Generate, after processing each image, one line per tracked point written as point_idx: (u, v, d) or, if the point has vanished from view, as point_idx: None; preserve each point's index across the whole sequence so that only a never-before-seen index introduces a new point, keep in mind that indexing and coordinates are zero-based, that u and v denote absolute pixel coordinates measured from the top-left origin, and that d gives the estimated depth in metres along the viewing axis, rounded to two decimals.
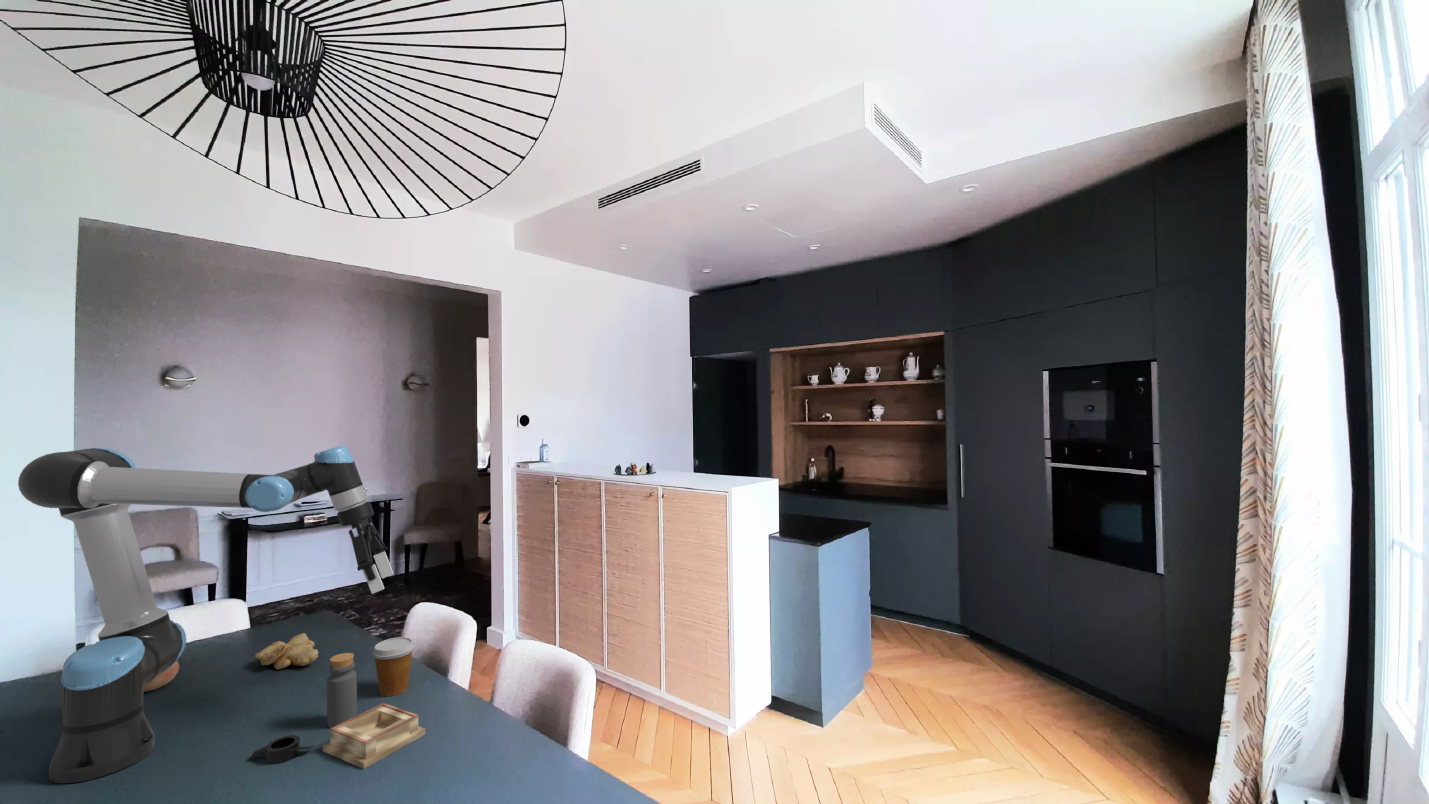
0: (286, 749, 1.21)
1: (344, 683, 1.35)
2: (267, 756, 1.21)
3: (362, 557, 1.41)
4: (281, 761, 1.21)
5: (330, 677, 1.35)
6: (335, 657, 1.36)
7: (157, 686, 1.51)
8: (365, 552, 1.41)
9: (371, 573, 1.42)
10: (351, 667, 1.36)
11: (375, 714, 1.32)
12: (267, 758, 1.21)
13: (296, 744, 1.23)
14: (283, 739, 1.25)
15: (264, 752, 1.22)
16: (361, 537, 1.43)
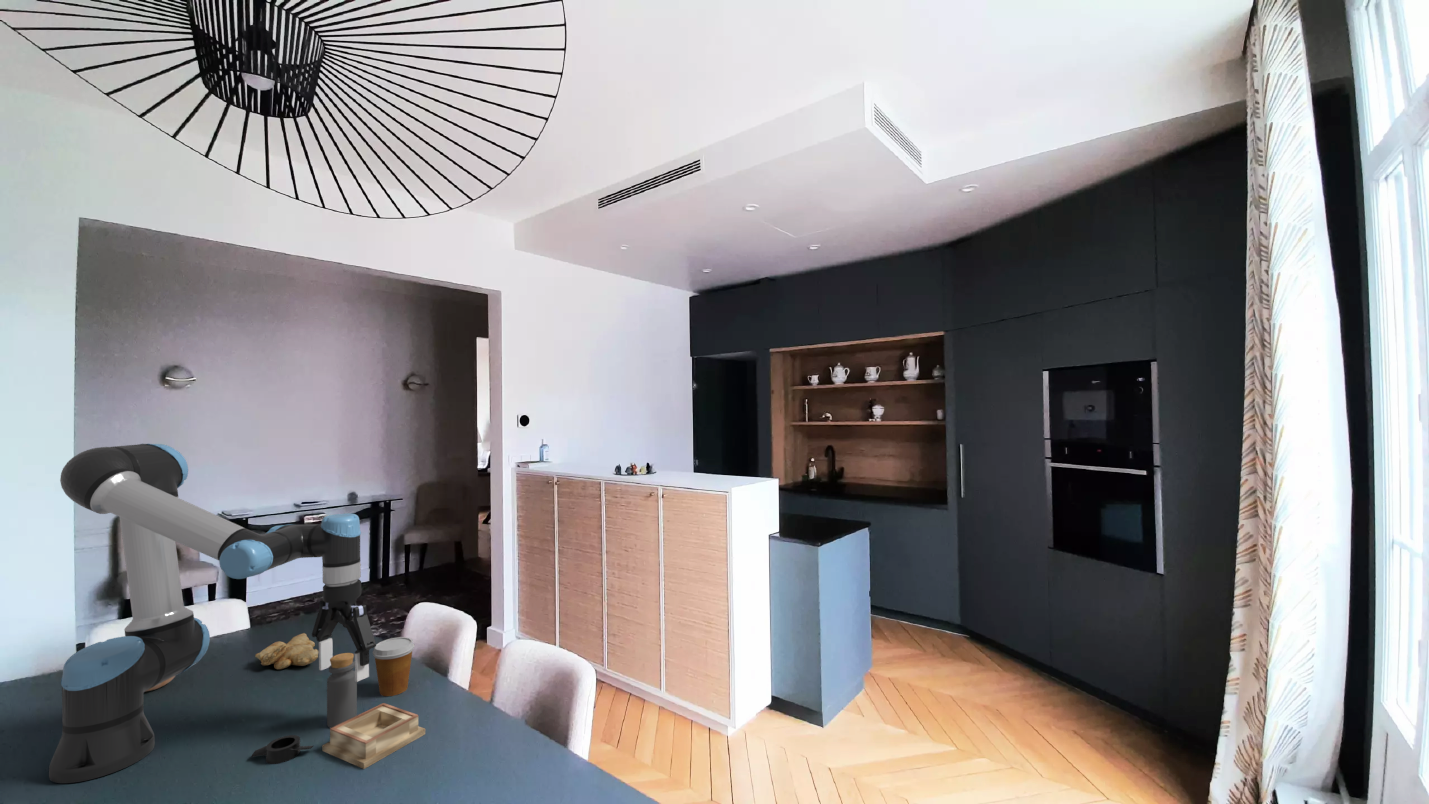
0: (286, 749, 1.21)
1: (344, 683, 1.35)
2: (267, 755, 1.21)
3: (369, 638, 1.33)
4: (281, 761, 1.21)
5: (330, 677, 1.35)
6: (335, 657, 1.36)
7: (157, 686, 1.51)
8: (371, 633, 1.34)
9: (367, 657, 1.33)
10: (351, 667, 1.36)
11: (375, 714, 1.32)
12: (267, 758, 1.21)
13: (296, 745, 1.23)
14: (284, 739, 1.25)
15: (264, 752, 1.22)
16: (366, 616, 1.34)
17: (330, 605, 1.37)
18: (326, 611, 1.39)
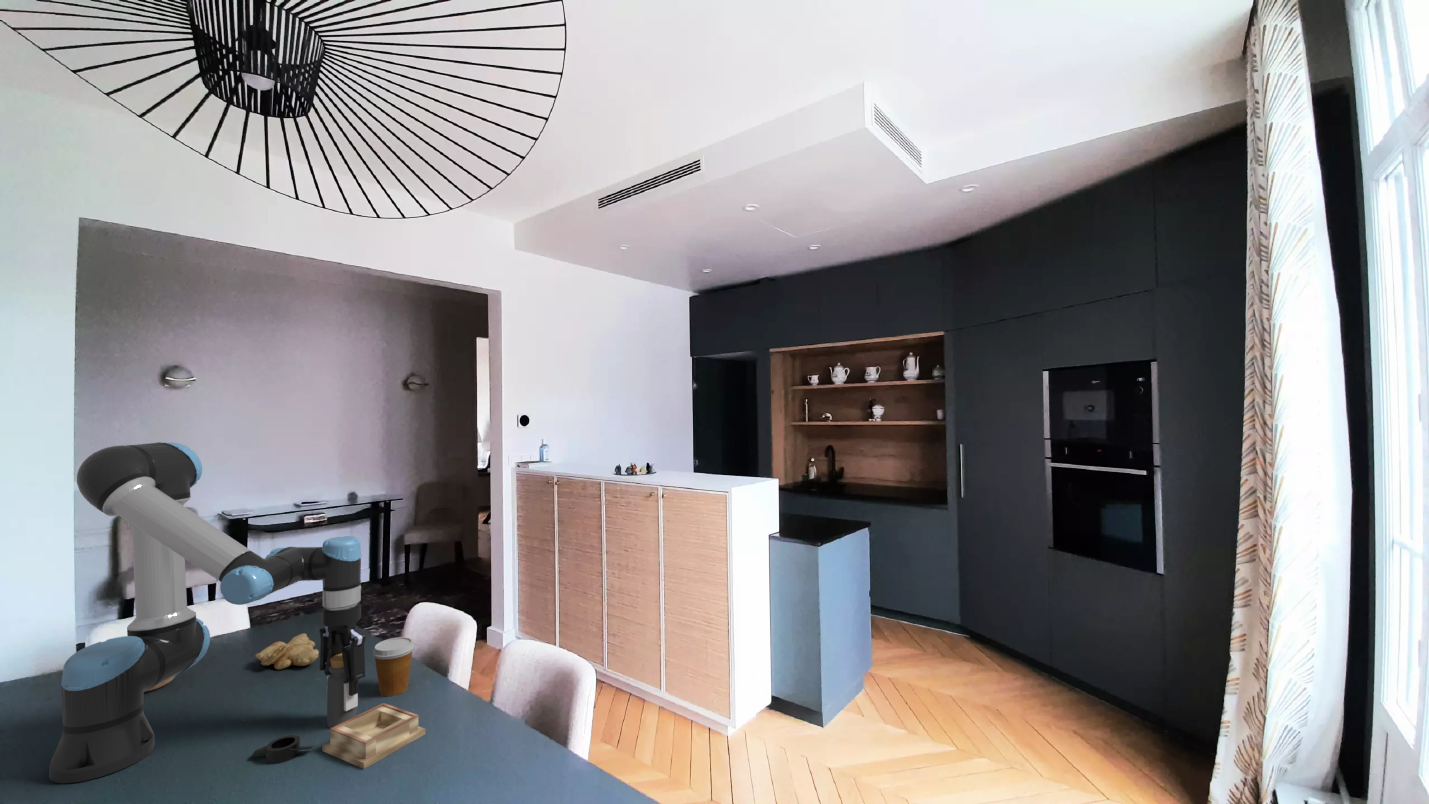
0: (286, 749, 1.21)
1: None
2: (267, 755, 1.21)
3: (360, 669, 1.34)
4: (281, 761, 1.21)
5: (330, 677, 1.35)
6: (335, 657, 1.36)
7: (157, 686, 1.51)
8: (363, 663, 1.35)
9: (356, 687, 1.35)
10: None
11: (375, 714, 1.32)
12: (267, 758, 1.21)
13: (296, 745, 1.23)
14: (284, 739, 1.25)
15: (264, 752, 1.22)
16: (363, 646, 1.35)
17: (329, 628, 1.37)
18: (328, 639, 1.39)
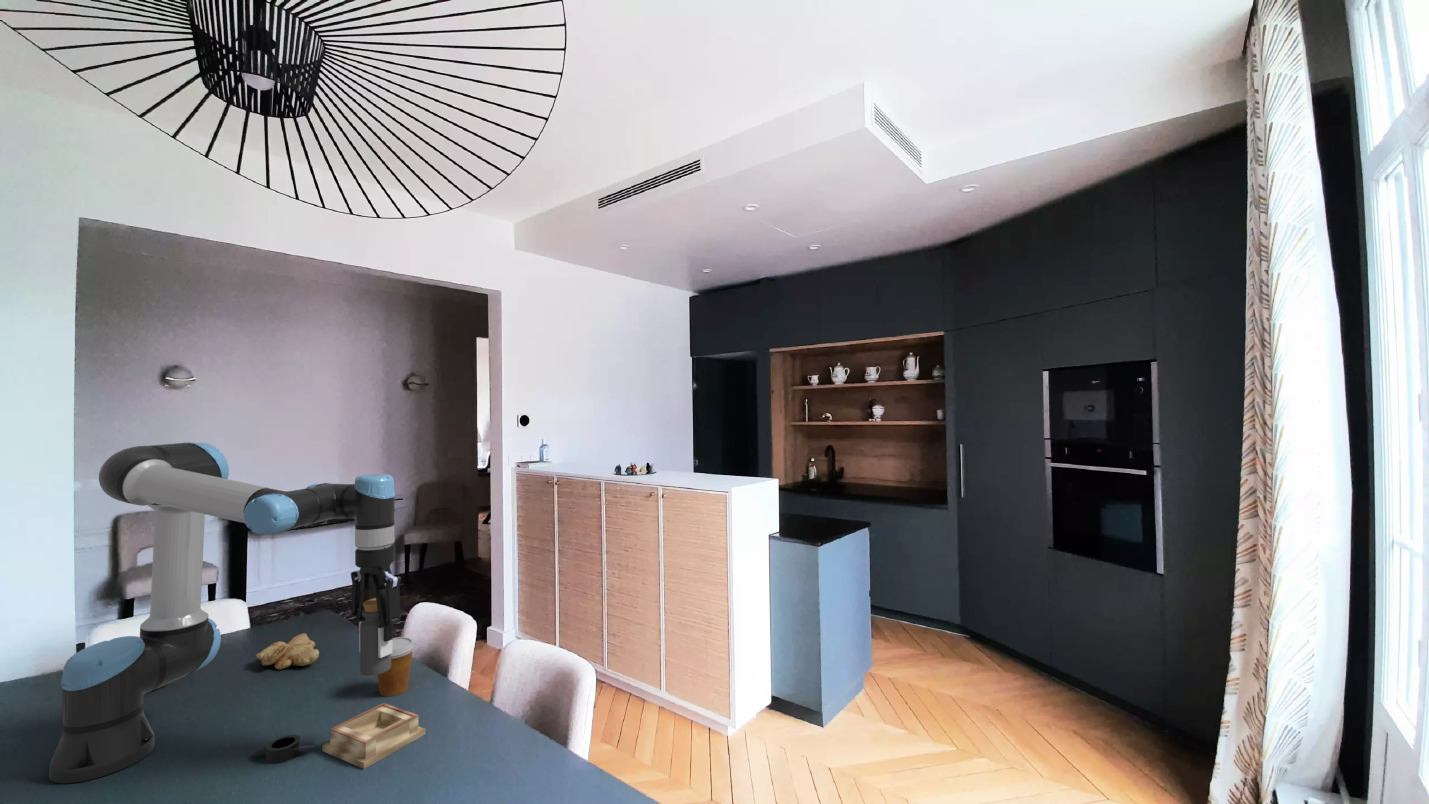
0: (286, 749, 1.21)
1: None
2: (267, 755, 1.21)
3: (395, 613, 1.25)
4: (281, 761, 1.21)
5: (363, 622, 1.27)
6: (368, 601, 1.28)
7: None
8: (399, 607, 1.26)
9: (391, 632, 1.26)
10: None
11: (375, 714, 1.32)
12: (267, 757, 1.21)
13: (296, 744, 1.23)
14: (284, 739, 1.25)
15: (265, 751, 1.22)
16: (398, 589, 1.26)
17: (362, 570, 1.28)
18: (360, 583, 1.30)
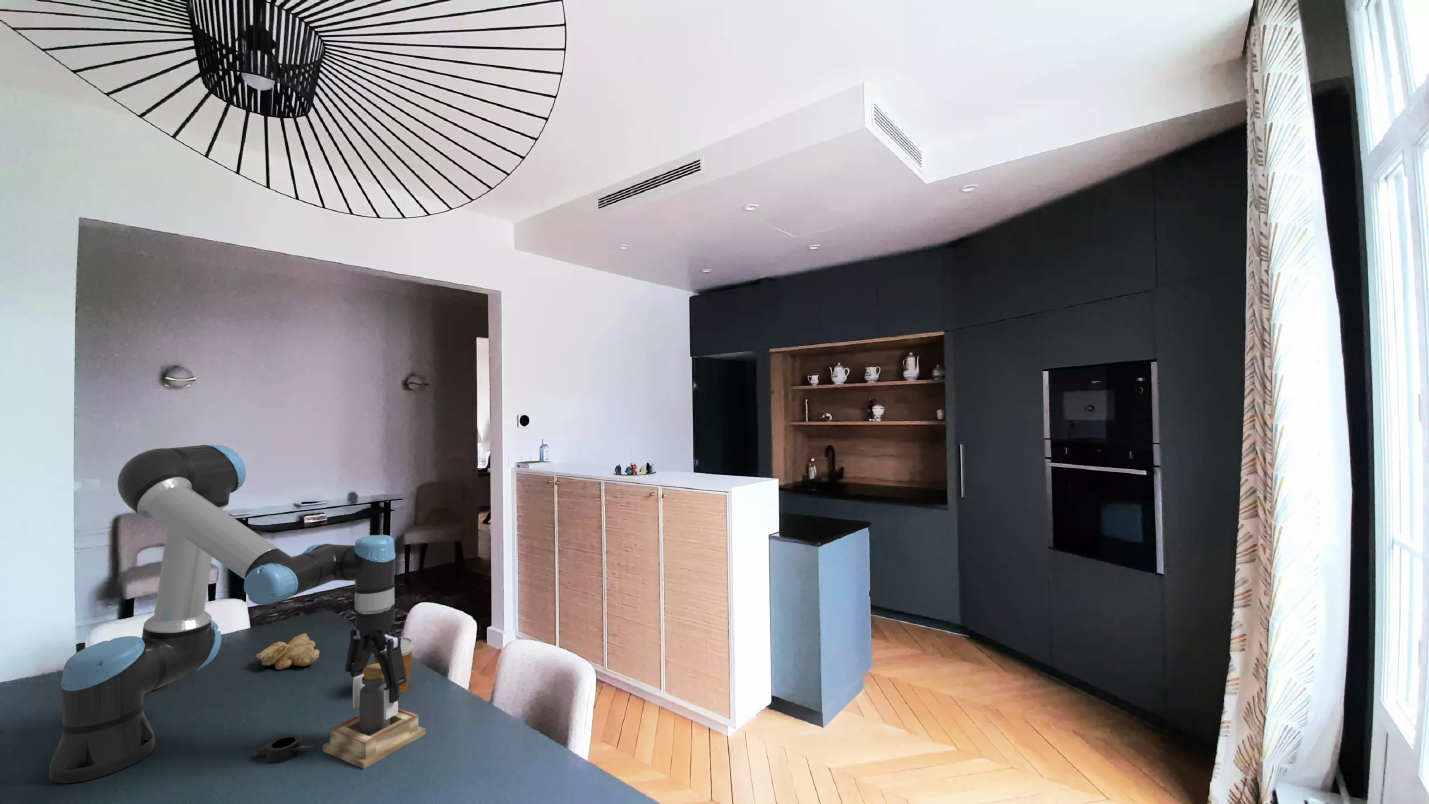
0: (286, 749, 1.21)
1: (378, 695, 1.26)
2: (267, 755, 1.21)
3: (400, 674, 1.25)
4: (281, 761, 1.21)
5: (363, 689, 1.27)
6: (368, 668, 1.28)
7: None
8: (403, 668, 1.26)
9: (397, 693, 1.25)
10: None
11: None
12: (267, 757, 1.21)
13: (296, 744, 1.23)
14: (285, 738, 1.25)
15: (265, 751, 1.23)
16: (399, 649, 1.26)
17: (362, 633, 1.28)
18: (358, 641, 1.31)
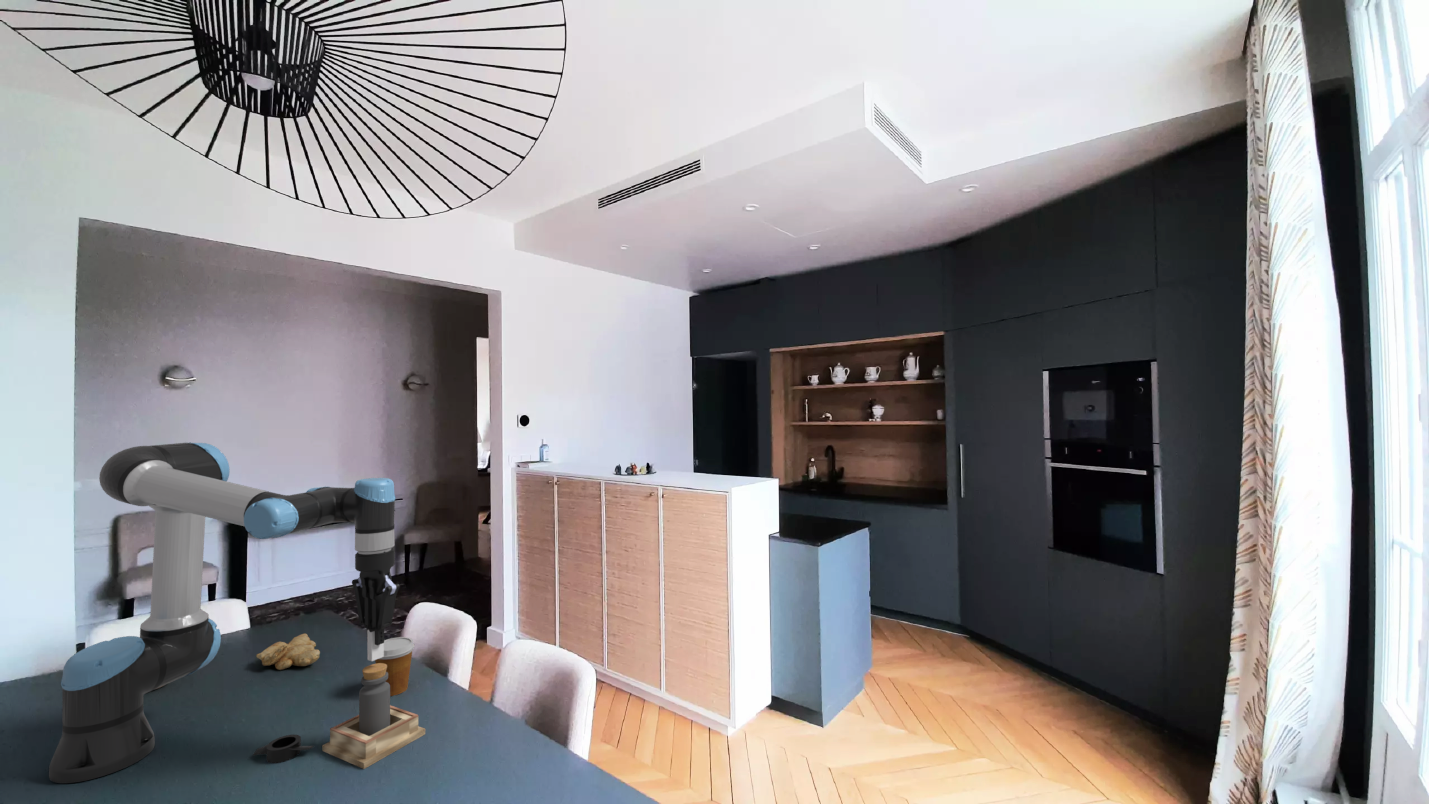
0: (286, 749, 1.21)
1: (378, 696, 1.26)
2: (267, 754, 1.21)
3: (388, 618, 1.26)
4: (281, 761, 1.21)
5: (362, 689, 1.27)
6: (367, 668, 1.28)
7: None
8: (392, 613, 1.27)
9: (383, 636, 1.28)
10: (385, 679, 1.28)
11: None
12: (267, 757, 1.21)
13: (296, 744, 1.23)
14: (285, 738, 1.25)
15: (266, 750, 1.23)
16: (395, 596, 1.27)
17: (361, 574, 1.29)
18: None
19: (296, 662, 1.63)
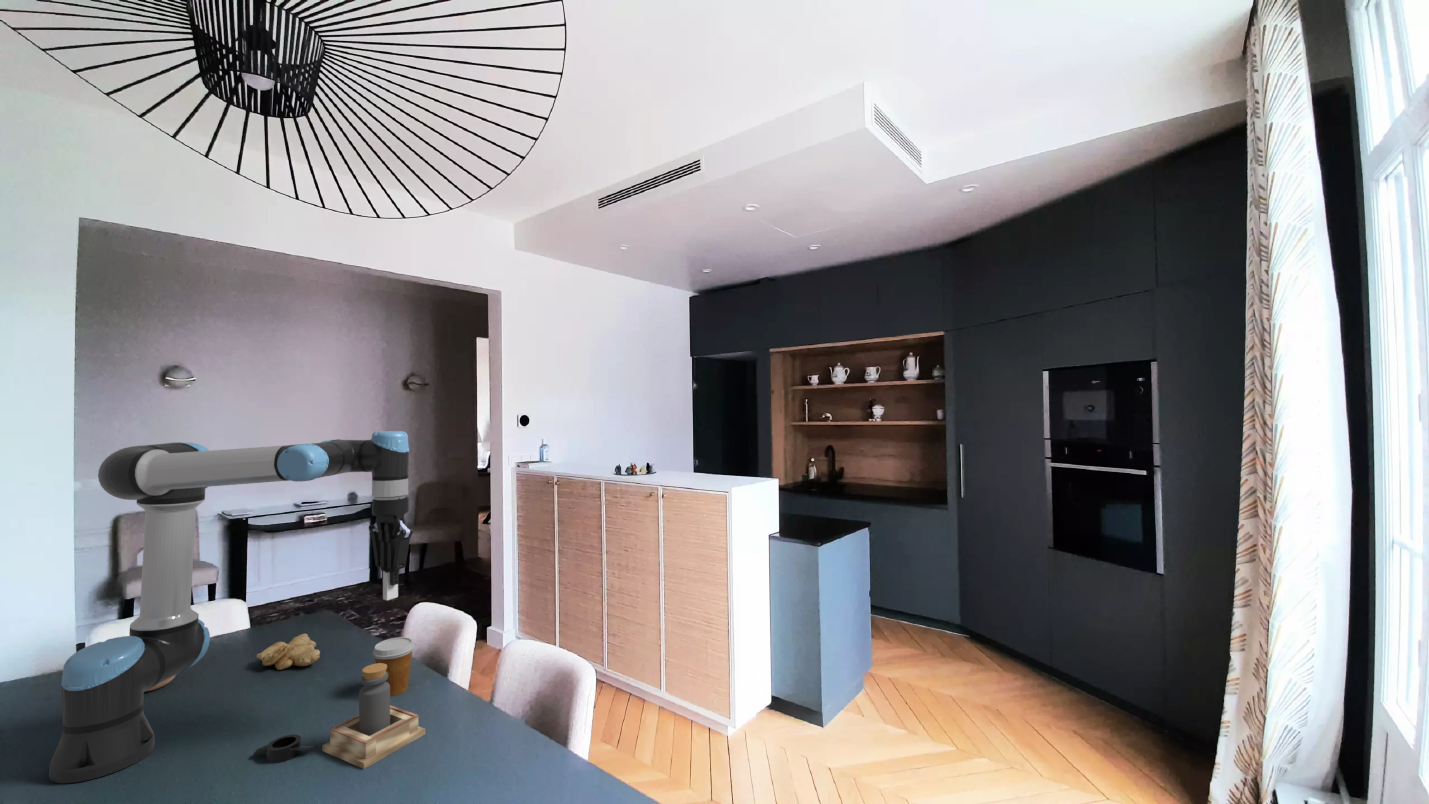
0: (286, 749, 1.21)
1: (378, 696, 1.26)
2: (267, 754, 1.21)
3: (402, 560, 1.36)
4: (281, 760, 1.21)
5: (362, 689, 1.27)
6: (367, 668, 1.28)
7: (157, 686, 1.51)
8: (406, 555, 1.36)
9: (397, 577, 1.37)
10: (384, 679, 1.28)
11: None
12: (268, 757, 1.21)
13: (296, 744, 1.23)
14: (285, 738, 1.25)
15: (266, 750, 1.23)
16: (408, 539, 1.36)
17: (377, 520, 1.38)
18: None
19: (296, 662, 1.63)
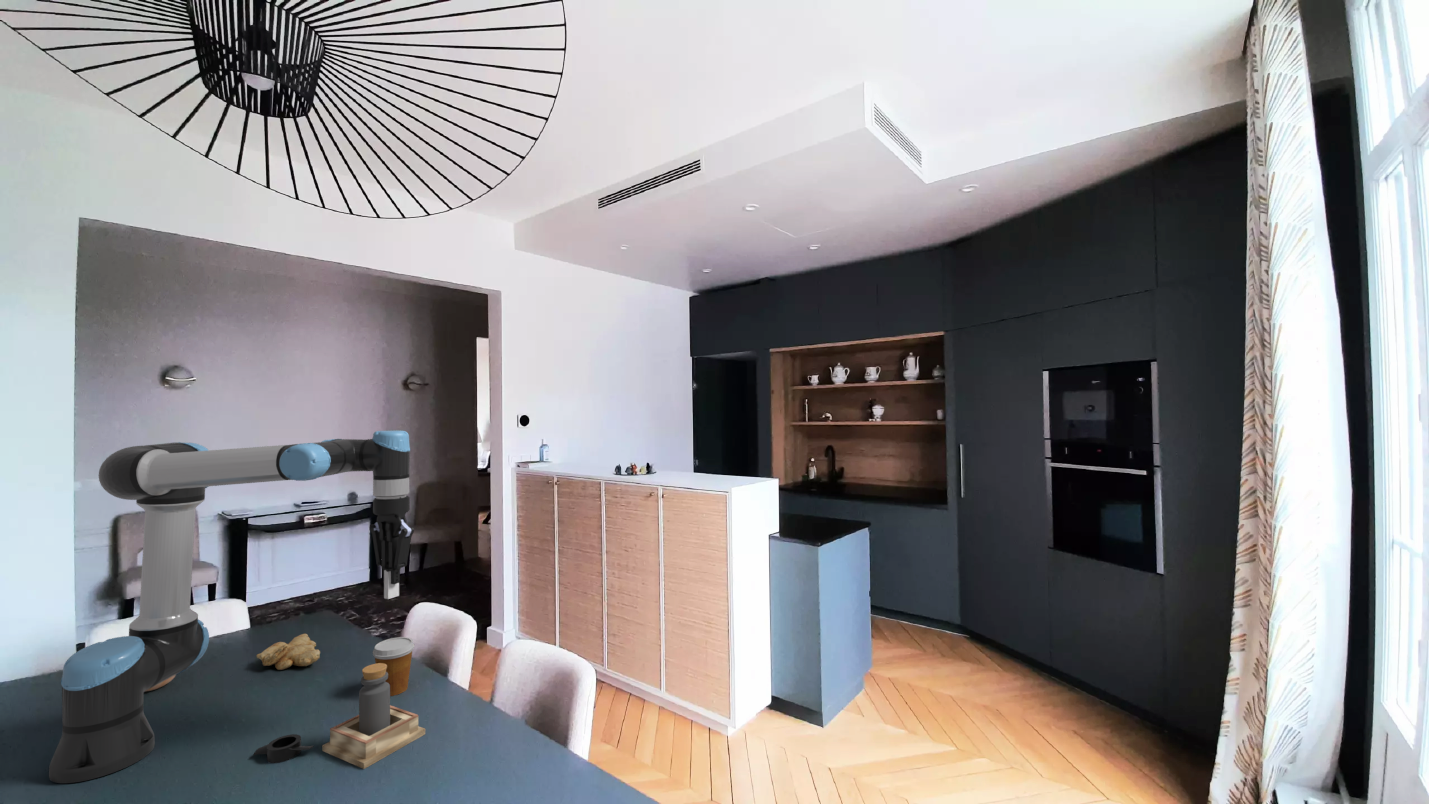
0: (286, 749, 1.21)
1: (378, 696, 1.26)
2: (268, 754, 1.21)
3: (403, 559, 1.36)
4: (281, 760, 1.21)
5: (362, 689, 1.27)
6: (367, 668, 1.28)
7: (157, 686, 1.51)
8: (407, 554, 1.37)
9: (398, 576, 1.38)
10: (384, 679, 1.28)
11: None
12: (268, 757, 1.21)
13: (296, 744, 1.23)
14: (286, 738, 1.25)
15: (266, 750, 1.23)
16: (410, 538, 1.37)
17: (378, 519, 1.38)
18: (380, 533, 1.40)
19: (296, 662, 1.63)
